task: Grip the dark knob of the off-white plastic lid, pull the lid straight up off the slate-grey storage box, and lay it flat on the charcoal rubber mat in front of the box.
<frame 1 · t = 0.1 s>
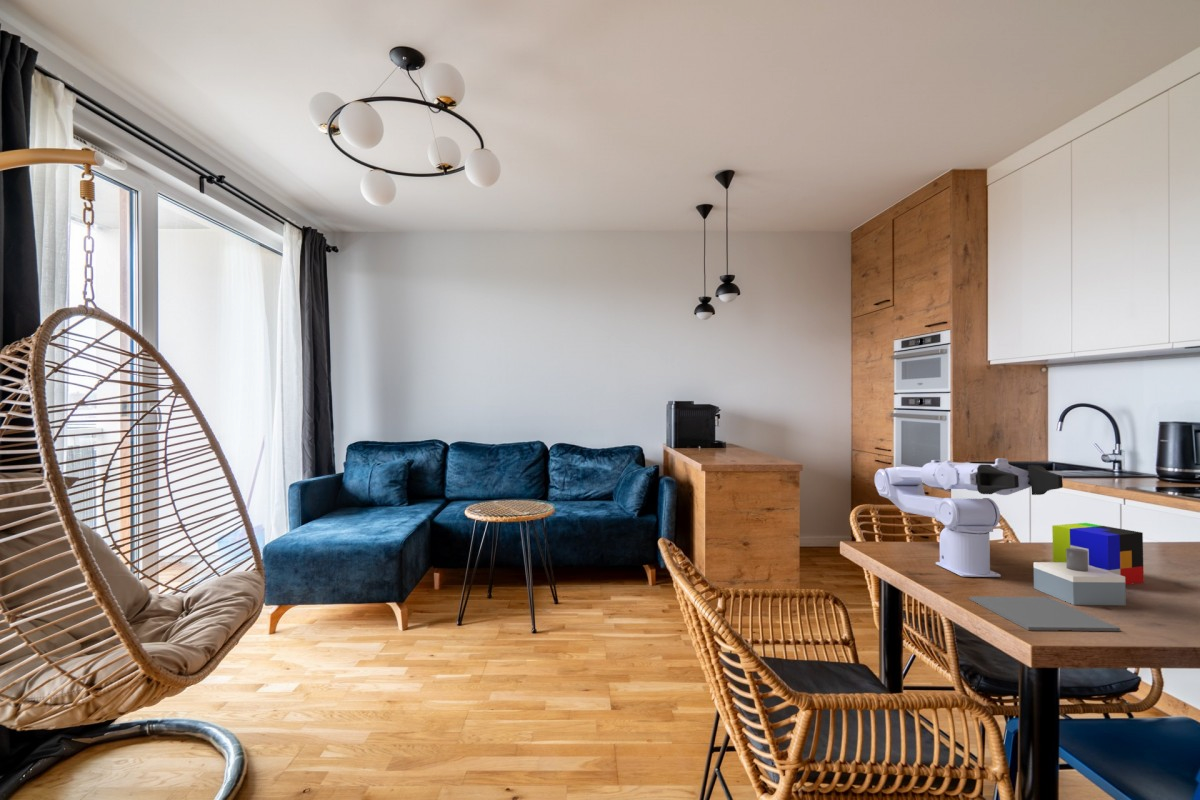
hand: (1038, 481, 97), 22 cm above the table, tool horizontal, fingers open, 7 cm apart
mat: (1038, 614, 91), on the table
puzzle toy: (1097, 578, 112), on the table
lid: (1077, 578, 100), point 3 cm above the table, touching storage box
storage box: (1077, 596, 100), on the table
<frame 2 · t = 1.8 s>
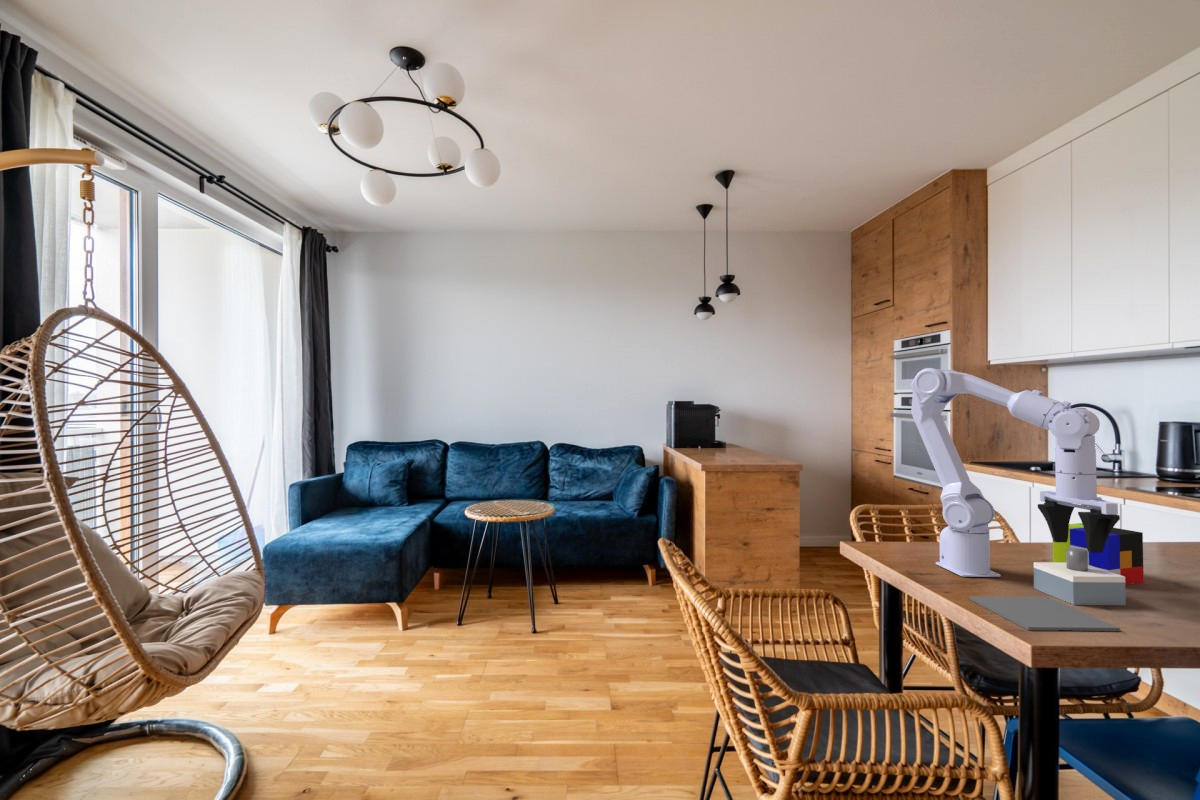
hand: (1077, 546, 100), 9 cm above the table, tool pointing down, fingers open, 7 cm apart
nothing on the table moved.
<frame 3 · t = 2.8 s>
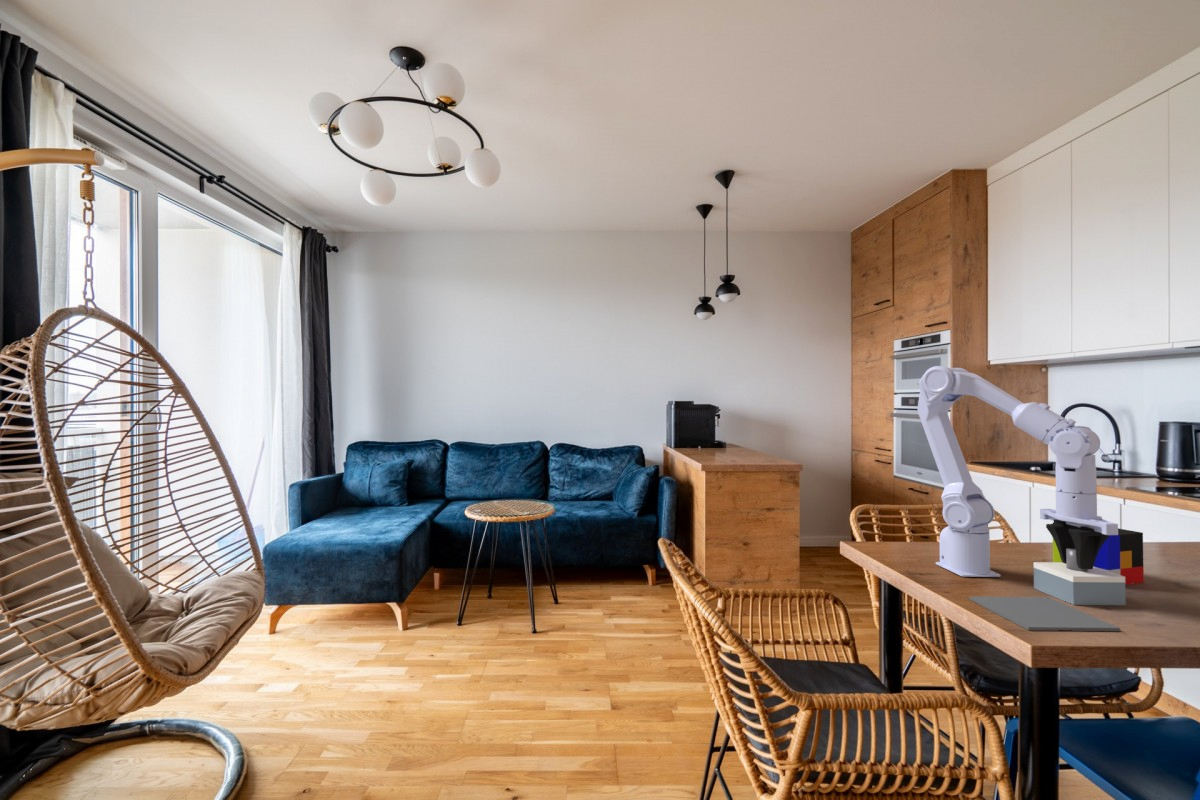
hand: (1077, 565, 100), 6 cm above the table, tool pointing down, fingers closed on lid, 3 cm apart
lid: (1077, 578, 100), point 3 cm above the table, touching gripper, storage box
everything else where it was.
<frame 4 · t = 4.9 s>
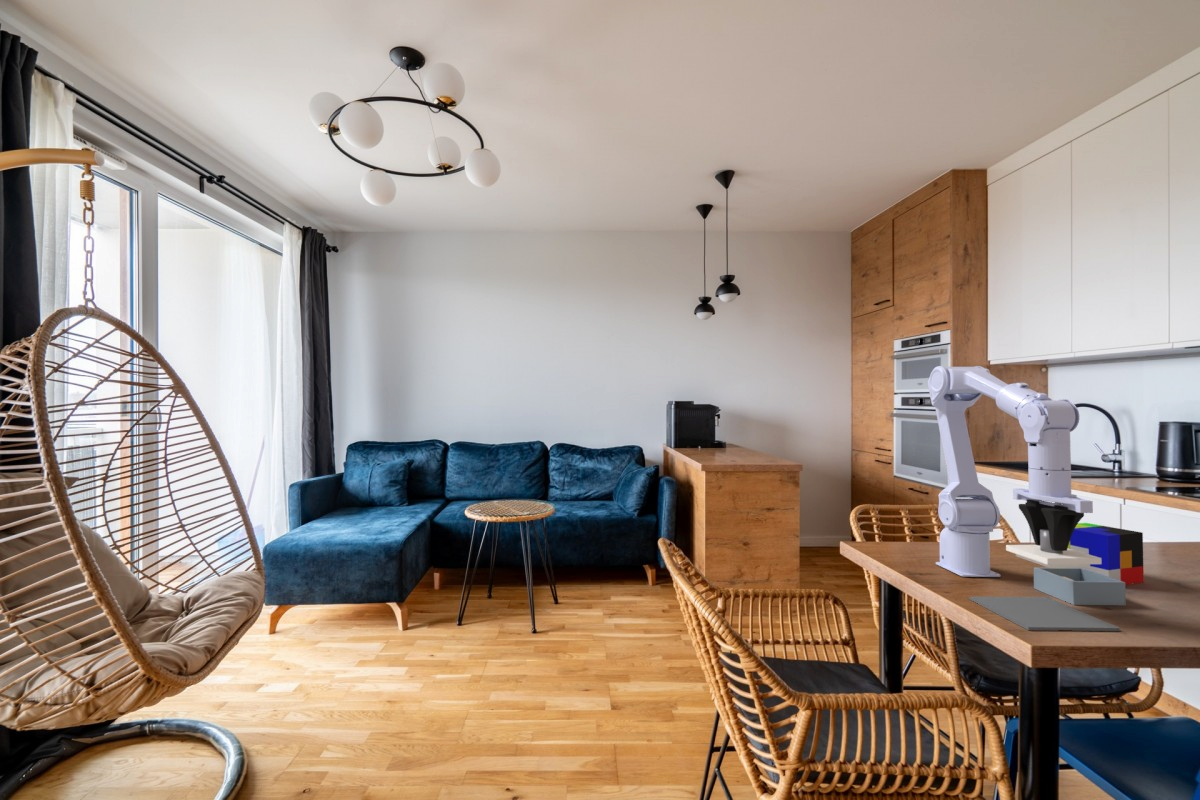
hand: (1050, 547, 94), 10 cm above the table, tool pointing down, fingers closed on lid, 3 cm apart
lid: (1051, 561, 94), point 8 cm above the table, touching gripper
everything else where it was.
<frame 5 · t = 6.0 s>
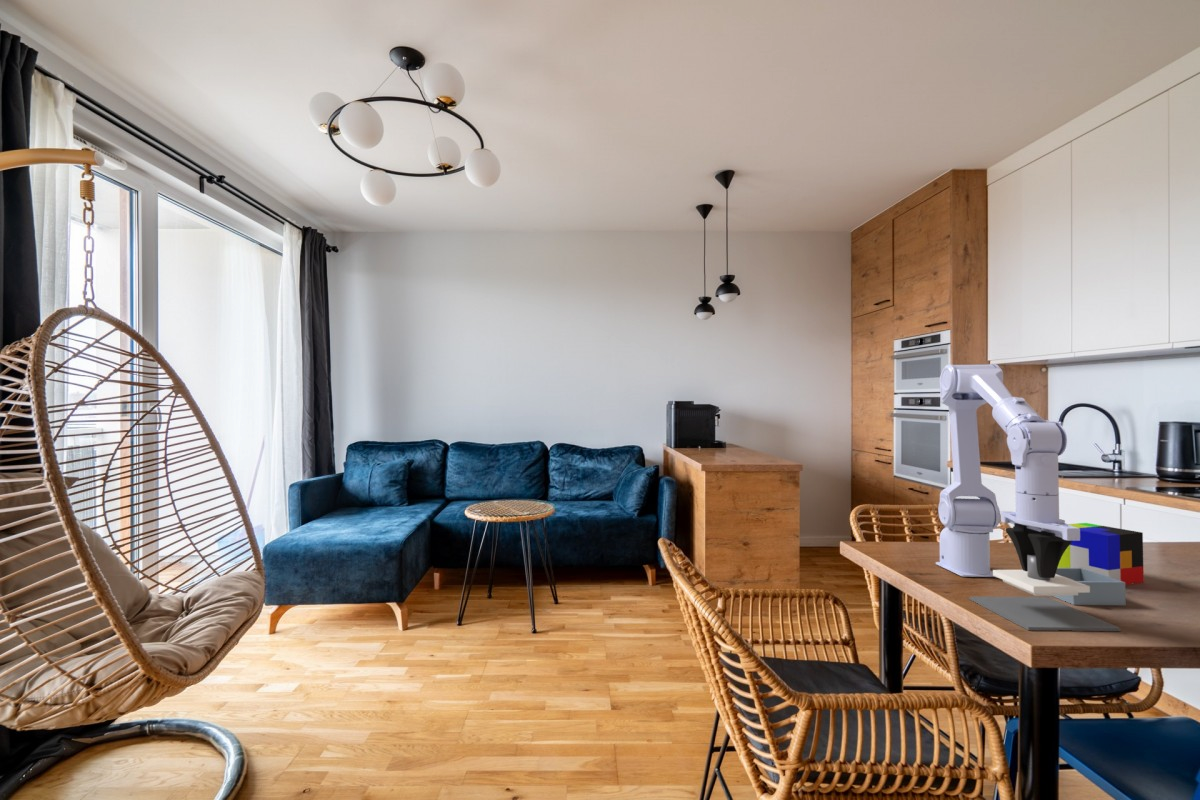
hand: (1038, 574, 92), 7 cm above the table, tool pointing down, fingers closed on lid, 3 cm apart
lid: (1039, 588, 92), point 4 cm above the table, touching gripper
everything else where it was.
when the fingers open (4 cm above the table, at t = 6.8 s): lid drops 1 cm, resting on mat.
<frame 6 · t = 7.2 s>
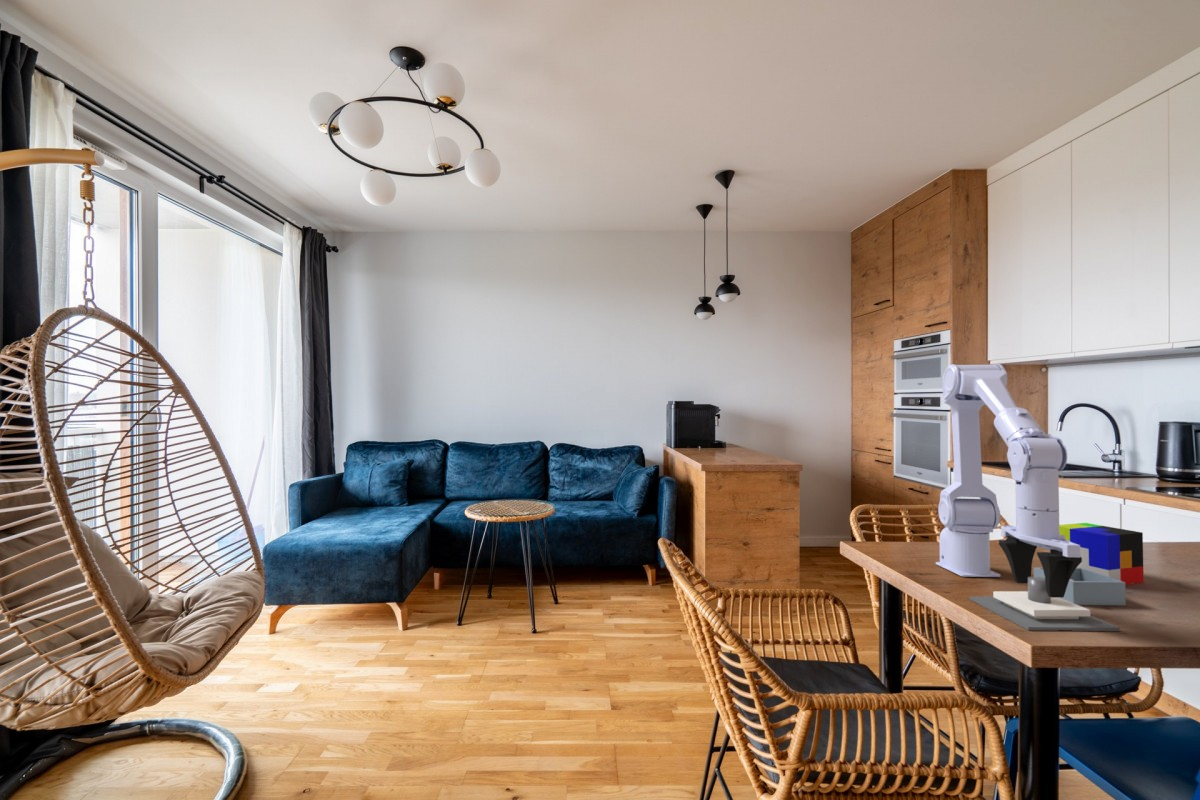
hand: (1038, 589, 92), 4 cm above the table, tool pointing down, fingers open, 7 cm apart
lid: (1039, 611, 91), resting on mat
everything else where it was.
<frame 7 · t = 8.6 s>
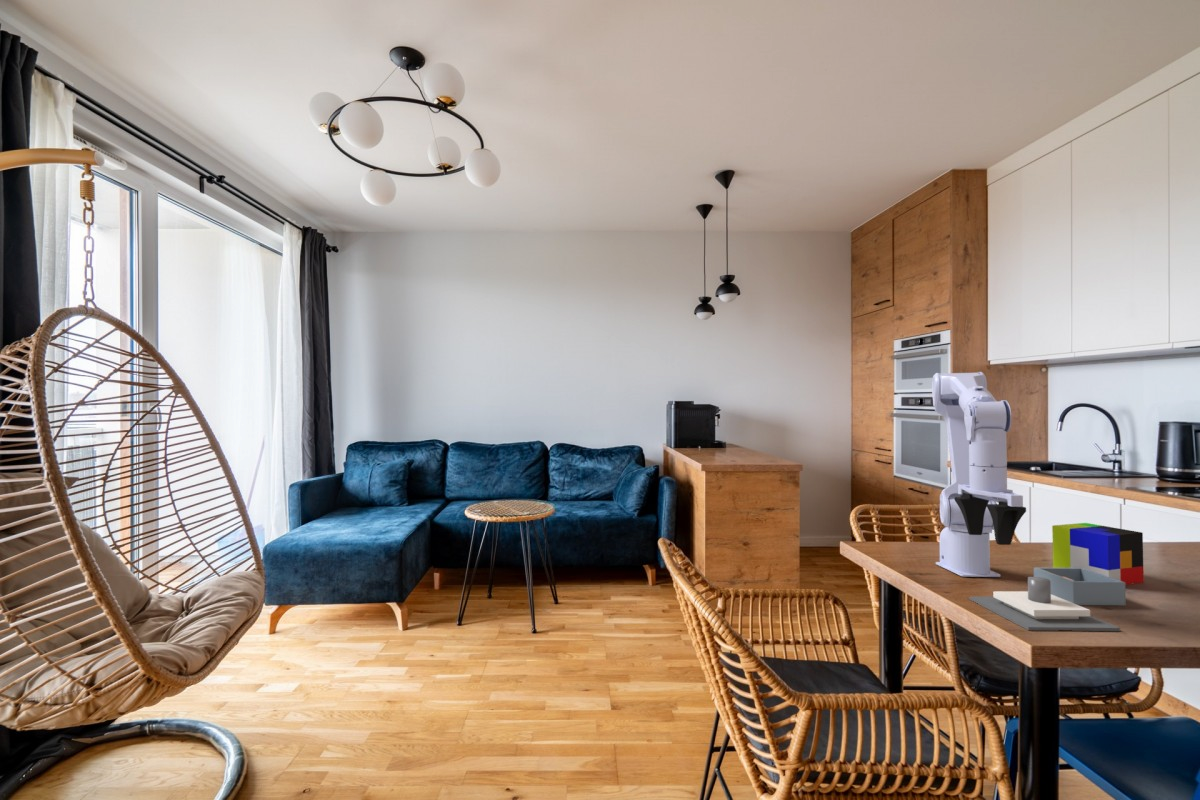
hand: (988, 539, 101), 10 cm above the table, tool pointing down, fingers open, 7 cm apart
nothing on the table moved.
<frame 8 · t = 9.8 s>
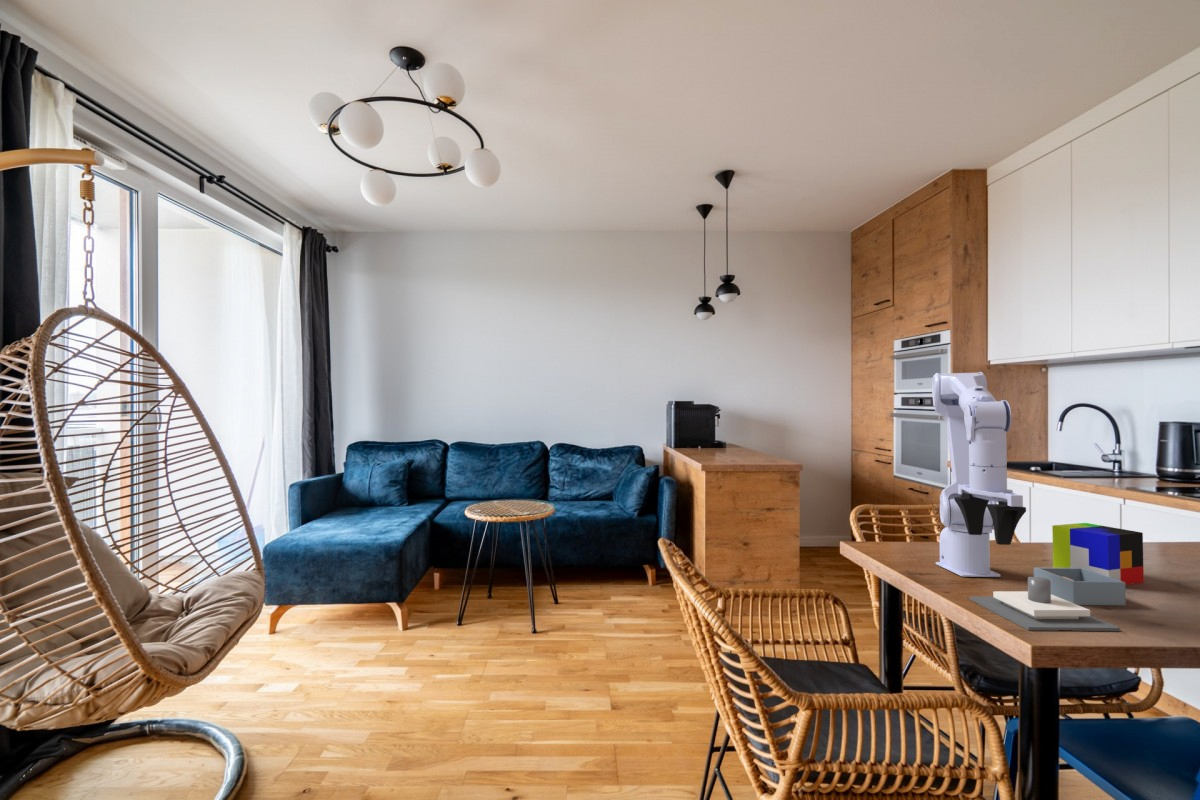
hand: (988, 539, 101), 10 cm above the table, tool pointing down, fingers open, 7 cm apart
nothing on the table moved.
at the end: lid 0.1 cm off-centre on the mat, point 0.5 cm above the mat's base; lid tilted 0°; the gripper is holding nothing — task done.
